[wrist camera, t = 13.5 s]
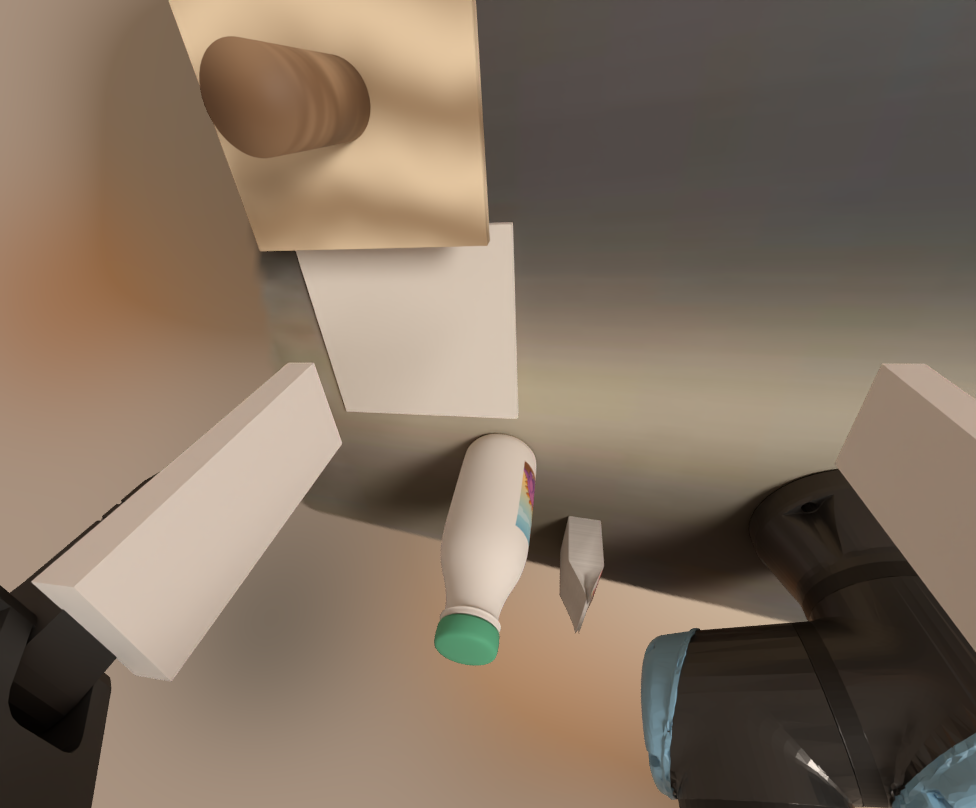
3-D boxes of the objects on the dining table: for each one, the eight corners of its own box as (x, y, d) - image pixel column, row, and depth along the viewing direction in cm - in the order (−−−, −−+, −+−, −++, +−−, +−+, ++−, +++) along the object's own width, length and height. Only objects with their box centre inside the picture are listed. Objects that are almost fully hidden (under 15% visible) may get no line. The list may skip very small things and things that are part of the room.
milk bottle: (455, 465, 47) (397, 652, 31) (484, 419, 43) (434, 610, 27) (515, 493, 49) (489, 687, 33) (550, 451, 44) (540, 652, 28)
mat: (518, 415, 42) (517, 418, 41) (349, 408, 45) (346, 411, 44) (512, 222, 32) (512, 224, 31) (293, 229, 35) (289, 231, 34)
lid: (489, 240, 28) (461, 292, 20) (269, 246, 30) (173, 293, 23) (467, -138, 19) (400, -294, 11) (154, -83, 21) (-68, -181, 14)
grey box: (560, 550, 53) (559, 630, 45) (568, 515, 49) (568, 596, 41) (589, 555, 53) (593, 636, 45) (600, 520, 49) (606, 603, 41)
